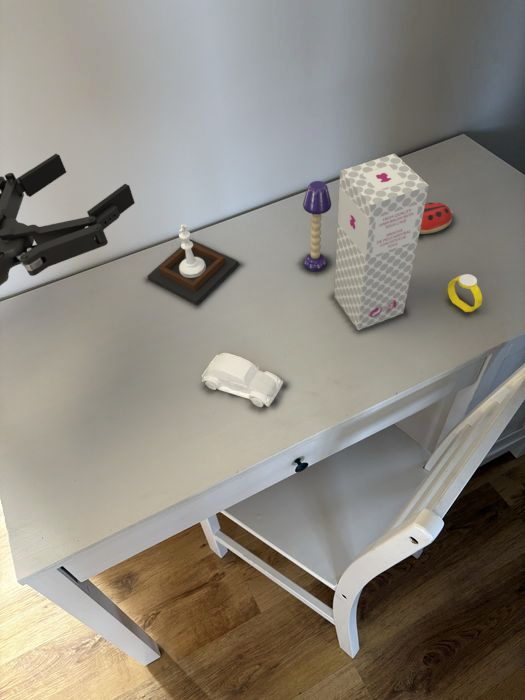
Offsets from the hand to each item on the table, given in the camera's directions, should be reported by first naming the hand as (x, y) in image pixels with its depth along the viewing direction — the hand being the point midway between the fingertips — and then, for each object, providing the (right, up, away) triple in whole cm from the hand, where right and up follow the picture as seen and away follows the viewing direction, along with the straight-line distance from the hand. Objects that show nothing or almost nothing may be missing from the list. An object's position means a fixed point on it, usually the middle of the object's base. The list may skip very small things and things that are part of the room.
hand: (94, 177), depth 71 cm
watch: (+56, -16, +18) cm, 61 cm away
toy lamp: (+32, -7, +27) cm, 43 cm away
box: (+40, -15, +20) cm, 48 cm away
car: (+19, -28, +12) cm, 36 cm away
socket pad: (+10, -9, +28) cm, 31 cm away
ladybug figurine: (+54, +1, +31) cm, 62 cm away
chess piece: (+10, -8, +27) cm, 30 cm away
